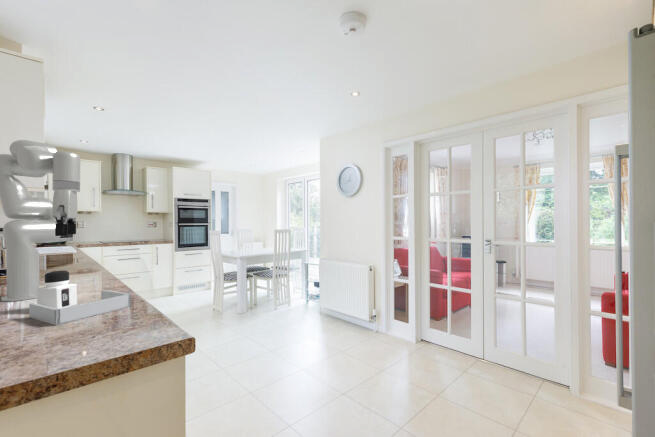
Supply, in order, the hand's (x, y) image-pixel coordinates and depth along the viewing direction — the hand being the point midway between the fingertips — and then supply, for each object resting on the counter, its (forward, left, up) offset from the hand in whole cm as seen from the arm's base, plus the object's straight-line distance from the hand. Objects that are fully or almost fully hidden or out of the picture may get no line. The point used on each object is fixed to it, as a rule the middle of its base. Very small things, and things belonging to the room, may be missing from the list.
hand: (66, 235), depth 110 cm
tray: (+11, 0, -26) cm, 28 cm away
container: (-2, -2, -26) cm, 26 cm away
